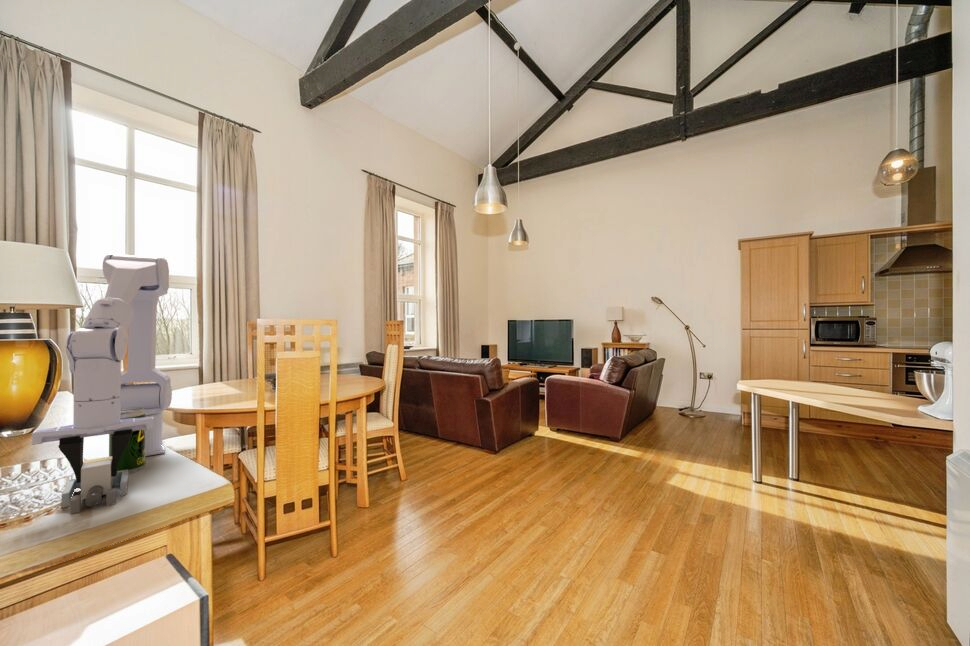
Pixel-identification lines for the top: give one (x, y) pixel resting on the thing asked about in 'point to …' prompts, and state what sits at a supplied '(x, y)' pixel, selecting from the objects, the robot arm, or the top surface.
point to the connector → (95, 479)
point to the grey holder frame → (110, 495)
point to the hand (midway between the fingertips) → (97, 477)
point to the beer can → (132, 443)
